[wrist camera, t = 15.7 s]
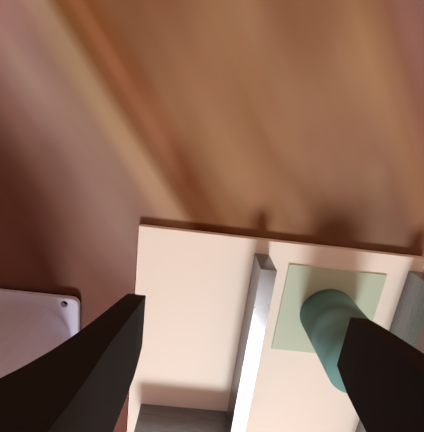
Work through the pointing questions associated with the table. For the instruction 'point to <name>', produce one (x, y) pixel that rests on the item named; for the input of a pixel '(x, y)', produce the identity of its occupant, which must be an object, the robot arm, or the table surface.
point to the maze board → (233, 318)
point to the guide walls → (251, 349)
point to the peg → (329, 327)
